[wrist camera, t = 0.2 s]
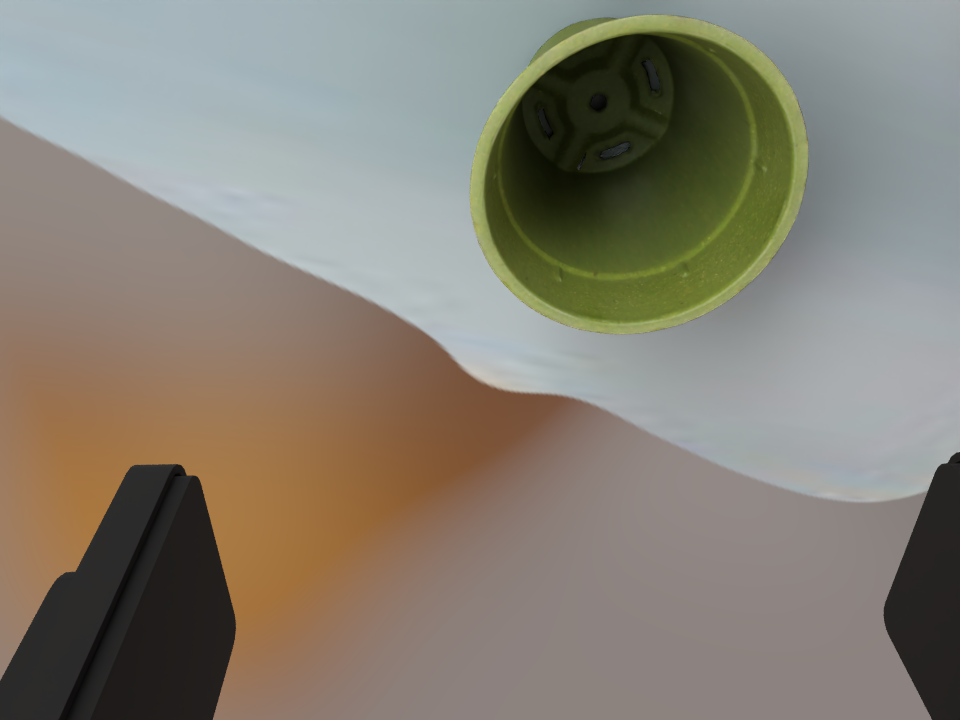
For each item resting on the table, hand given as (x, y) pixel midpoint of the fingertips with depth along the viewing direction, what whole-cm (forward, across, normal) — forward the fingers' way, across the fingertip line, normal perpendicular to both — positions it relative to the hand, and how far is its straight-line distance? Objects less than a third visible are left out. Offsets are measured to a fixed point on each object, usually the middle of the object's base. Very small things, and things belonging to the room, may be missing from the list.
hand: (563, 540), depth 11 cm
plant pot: (+31, -5, +3) cm, 32 cm away
